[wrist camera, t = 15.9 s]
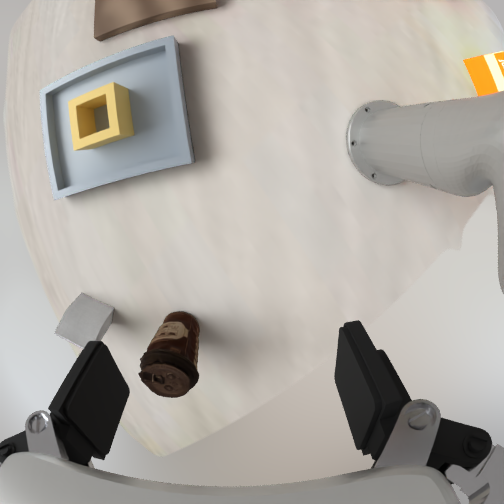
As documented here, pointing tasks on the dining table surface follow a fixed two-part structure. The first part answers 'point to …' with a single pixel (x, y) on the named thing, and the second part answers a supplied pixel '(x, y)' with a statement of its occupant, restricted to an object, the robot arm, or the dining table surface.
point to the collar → (85, 119)
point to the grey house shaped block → (85, 321)
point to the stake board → (139, 13)
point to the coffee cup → (172, 357)
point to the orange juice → (487, 72)
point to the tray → (119, 152)
